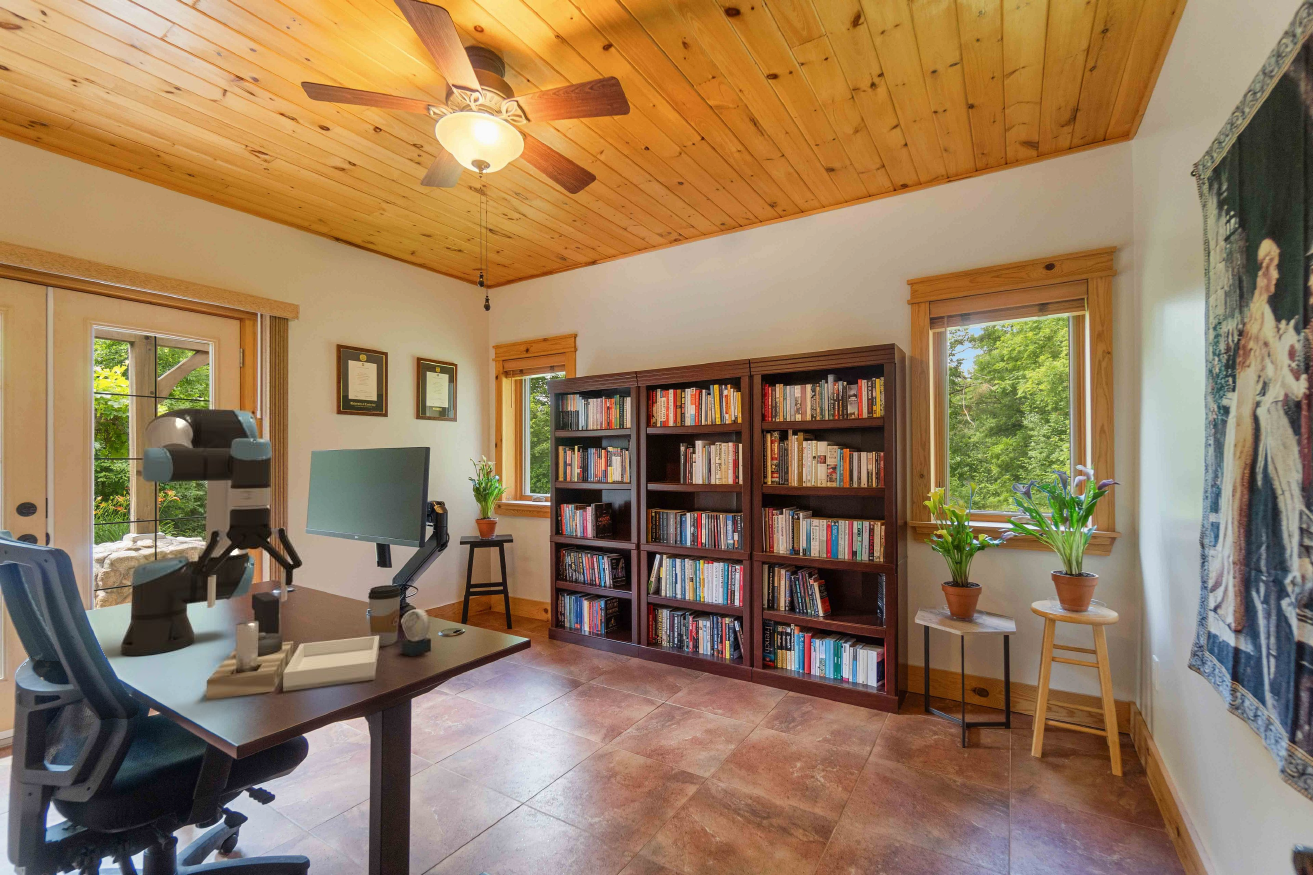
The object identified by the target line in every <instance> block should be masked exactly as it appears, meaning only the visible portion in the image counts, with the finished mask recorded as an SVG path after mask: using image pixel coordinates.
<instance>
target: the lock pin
mask: <svg viewBox="0 0 1313 875" xmlns="http://www.w3.org/2000/svg"><path fill="white" fill-rule="evenodd" d="M258 623H259V622H258V621H254V620H249V621H248V620H247V621H242V622H239V623H237V624H236V637H235V638H236V640H235V649H236V674H237V673H245V672H253V671H257V668H258Z"/></svg>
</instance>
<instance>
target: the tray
mask: <svg viewBox="0 0 1313 875" xmlns="http://www.w3.org/2000/svg"><path fill="white" fill-rule="evenodd" d="M379 653H380V646H379V636H371V635H370V636H362V637H354V638H352V637H351V638H345V639H334V640H324V641H323V640H322V641H315V642H307V643H306V642H305V643H299V645H298V647H297V649H296V651H295V652H294V653H293V657H292V659H291V661H290V662H289V664H288V666H287V668H286V669H285V671H284V673H283V675H282V677H283V682H282V692H289V691H290V692H291V691H296V690H297V691H298V690H304V689H312V688H320V687H328V686H335V685H343V684H350V683H357V682H367V681H372V680H373V681H374V680H376V672H377V667H378V661H379V660H378V659H379ZM377 660H378V661H377Z"/></svg>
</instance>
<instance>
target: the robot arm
mask: <svg viewBox="0 0 1313 875" xmlns="http://www.w3.org/2000/svg"><path fill="white" fill-rule="evenodd" d="M258 434H259V432H258V428H257V423H256V419H255V416H254V414H252V412H250V411H246V410H239V409H214V408H193V407H192V408H189V407H187V408H185V407H184V408H177V409H172V410H169V411H167V412H164V413H161V414H159V415H157V416H156V417H154V418H153V419H152V420H150V422H148V424H147V425H146V429H145V434H144V435H145V439H146V442H147V443H148V445H149V446H150V447H148V448H145V449H144V450H143V452H142V479H143V480H144V481H145V482H149V483H150V482H151V483H161V484H164V483H175V482H176V483H179V482H182V483H183V482H185V483H186V482H207V484H206V486H207V487H206V488H207V490H206V516H205V517H206V519H205V520H206V521H205V545H204V546H205V547H204V548H203V549H202V550H201V551H200V552H198V553H197V554H198V555H197V556H198V557H197V558H198V559H197V560H190V559H189V557H188V556H186V555H185V556H184V555H181V556H173V557H172V556H171V557H166V558H161V559H156V560H152V561H147V562H144V563H141V564H139V565H137V566H136V567H135V568H134V570H133V572H132V580H131V583H130V586H131V604H130V605H131V606H130V607H131V610H130V623H129V625H128V628H127V629H126V632H125V635H124V637H123V640H122V642H121V644H120V654H122V655H123V656H124V655H125V656H148V655H149V656H150V655H156V654H162V653H167V652H172V651H175V650H180V649H183V648H185V647H188V646H191V645H192V644H194V642H195V632H194V629H193V627H192V624H191V622H190V619H189V616H188V605H191V604H198V603H205V602H206V603H207V609H210V608H213V607H214V606H215V605H216V601H221V600H227V601H228V600H231V599H234V598H235V599H236V598H241V597H244V596H246V595H247V594H248V593H249V591H250V590H251V587H252V584H253V579H254V575H255V562H256V559H255V556H253V555H251V554H249V550H259V549H260V548H261V549H262V550H263V551H265V552H266V553H267V554H268V555H269V556H270V557H271V558H272V559H273V560H274V561H275V562H276V563H277V564H278V565H280V566H281V567H282V568H283V571H281V573H280V574H281V575H280V576H281V579H280V580H281V582H280V603H283V602H285V601H287V600H288V586H291V585H293V582H294V581H293V580H294V579H293V578H294V570H296V569H299V568H301V567H302V566H303V561H302V559H301V558H300V556H299V555H298V553H297V551H296V549H295V547H294V546H293V543H292V542H291V541H290V539H289V537H288V533H287V532H288V531H287V528H286V527H285V526H282V527H280V528H274V529H272V527H271V508H270V507H268V506H270V505H271V504H272V501H271V499H272V498H271V494H272V493H271V492H272V489H271V486H272V485H271V482H272V480H271V479H272V456H273V452H272V442H271V441H270V440H269V439H267V438H259V435H258ZM272 535H274V536H275V538H277V539H279V542H280V544H281V545H282V547H283V549H284V550H285V552H286V554H287V555H288V557H289V559H290V561H291V562H290V561H289V560H288V559H287V558H286V557H285V556H284V555H283V554H282V553H281V552H280V551H279V550H278V549H277V548H276V547H275V546H274V545H273V544H272V543H271V542H270V541H269V539H270V538H271V537H272Z"/></svg>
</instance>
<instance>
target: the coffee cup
mask: <svg viewBox="0 0 1313 875" xmlns="http://www.w3.org/2000/svg"><path fill="white" fill-rule="evenodd" d="M401 596H402V591H401V589H400V586H399V585H396V584H395V585H394V584H393V585H392V584H386V585H379V586H373V587H371V588H370V590H369V592H368V597H367V599H368V602H369V603H368V605H369V611H368V612H369V629H370V630H369V631H370V636H379V647H386V646H391V645H393V644H395V643H396V641H397V640H398V630H399V623H400V611H401V610H400V605H401Z"/></svg>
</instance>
